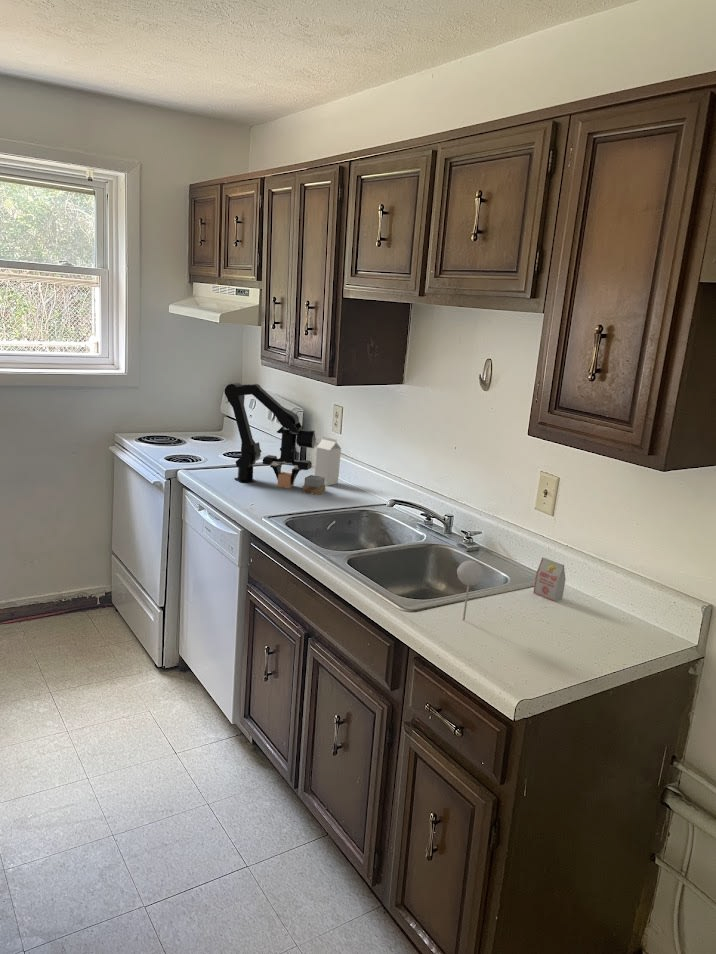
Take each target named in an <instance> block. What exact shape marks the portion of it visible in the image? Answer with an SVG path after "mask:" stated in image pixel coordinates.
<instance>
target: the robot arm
mask: <svg viewBox="0 0 716 954" xmlns="http://www.w3.org/2000/svg"><path fill="white" fill-rule="evenodd" d="M223 391H224V395H225V397H226V399H227V402H228V403H229V404H230V406H231V408H232V411H233V414H234V418H235V421H236V427H237V430H238V433H239V437H240V440H241V441H240V442H241V446H240V455H241V457H239V458H238V459H236V460H235V465H236V467H237V477H234V480H235V481H237V480H238V482H240V483H242V482H243V483H252V482H253V481H255V482H256V479H254V465H256V462H257V461H259V460H260V458H261V456H262V454H261V453H262V450H261V447H260V442H259V441H258V442H256V441H255V440H254V438H253V435H252V431H251V428H250V423H249V420H248V419H249V418H248V416H247V410H246V408H245V397H246V396H247V395H248V396H249V395H251V396H253V397H254V398H256V400H257V401H259V402H260V403H261V404H262V405H263V406H264V407H266V408H267V409H268V410H269V411H270V412H271V413H272V414H273V415H274V416H275V417H276V420H277V421H278V423H279V424H280V425H281V427H280V428H279V429H278V430H276V434H281V443H280V447H279V451H280V455H279V456H280V457H279V458H278V457H277V455H271V454H270V455H269V454H268V455H266V456H264V457H263V458H262V464H263V465H267V466H269V467H270V468H272V470H273V472H274V474H275V477H276V479H277V481H278V474H280V473H282V466H283V465H284V466H285V465H287V466H292V467H293V466H294V467H293V468H292V469H291V473H292V477H291V485H293V483H294V484H295V481H296V478H297V476H298V474H299V472H300V471H308V470H310V469H312V464H313V463H312V461H311V460H307V459H301V460H300V455H301V454H300V452H299V451H298V450H297V447H296V446H298V447H301V448H307V449H308V448H309V449H315V445H316V442H317V438H316V432H315V430H311V429H310V430H307V429H306V430H305V429H304V427H303V425H302V424H301V422H300V417H299V416H298V414H297V413H295V412H293V411H292V410H291V409H288V408H286V407H284V406H283V405H281V404H280V403H279V402H278V401H277V400H276V399H275V398H273V397H272V396H271V395H270V394H269V393H268V392H267V391H265V389H263V388H262V386H260V384H258V383H254V384H241V383H240V382H233V383H229V384H227V385H226V386H225V388H224V390H223ZM253 483H254V482H253Z"/></svg>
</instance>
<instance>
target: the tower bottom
mask: <svg viewBox="0 0 716 954" xmlns="http://www.w3.org/2000/svg"><path fill="white" fill-rule="evenodd" d="M324 491H326V485H325V484H324V485H323V486H321V487H319V488H317V487H312V486H306V485H304V484H303V485H302V493H304V492H305V494H310V493H313V494H312V495H316V494H318V496H320V495H322V494H323V493H324ZM321 493H322V494H321Z"/></svg>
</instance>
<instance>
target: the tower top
mask: <svg viewBox="0 0 716 954" xmlns="http://www.w3.org/2000/svg"><path fill="white" fill-rule="evenodd" d="M324 482H325V477H320V476H315V474H314V475H313V474H310V475H308V476H306V477H304V484H303V485H306V486H312V487H317V488H319V487H321V486H323V485H324Z"/></svg>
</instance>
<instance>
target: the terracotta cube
mask: <svg viewBox="0 0 716 954" xmlns="http://www.w3.org/2000/svg"><path fill="white" fill-rule="evenodd" d="M291 477H292V472H285V471H281V473H280V474H278V480H277V487H278V488H283V487H285V489H291V488H293V487H294V485H295V482H294V483H293V485H291ZM292 486H293V487H292Z"/></svg>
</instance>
